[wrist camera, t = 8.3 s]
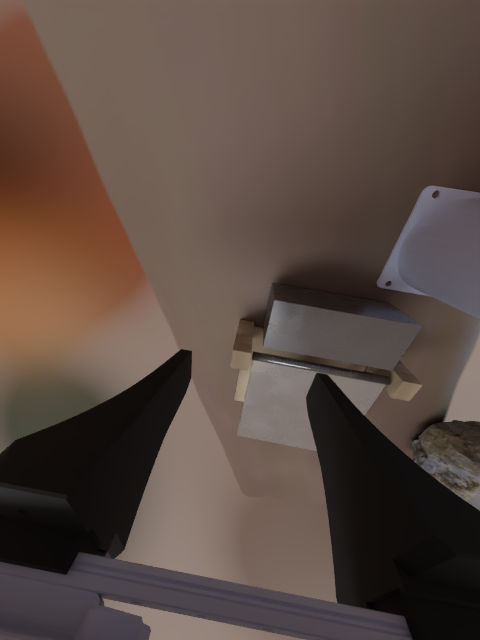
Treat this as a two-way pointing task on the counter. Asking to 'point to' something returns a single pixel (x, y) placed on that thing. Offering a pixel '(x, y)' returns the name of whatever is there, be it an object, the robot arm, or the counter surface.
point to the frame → (252, 340)
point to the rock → (451, 455)
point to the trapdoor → (324, 342)
